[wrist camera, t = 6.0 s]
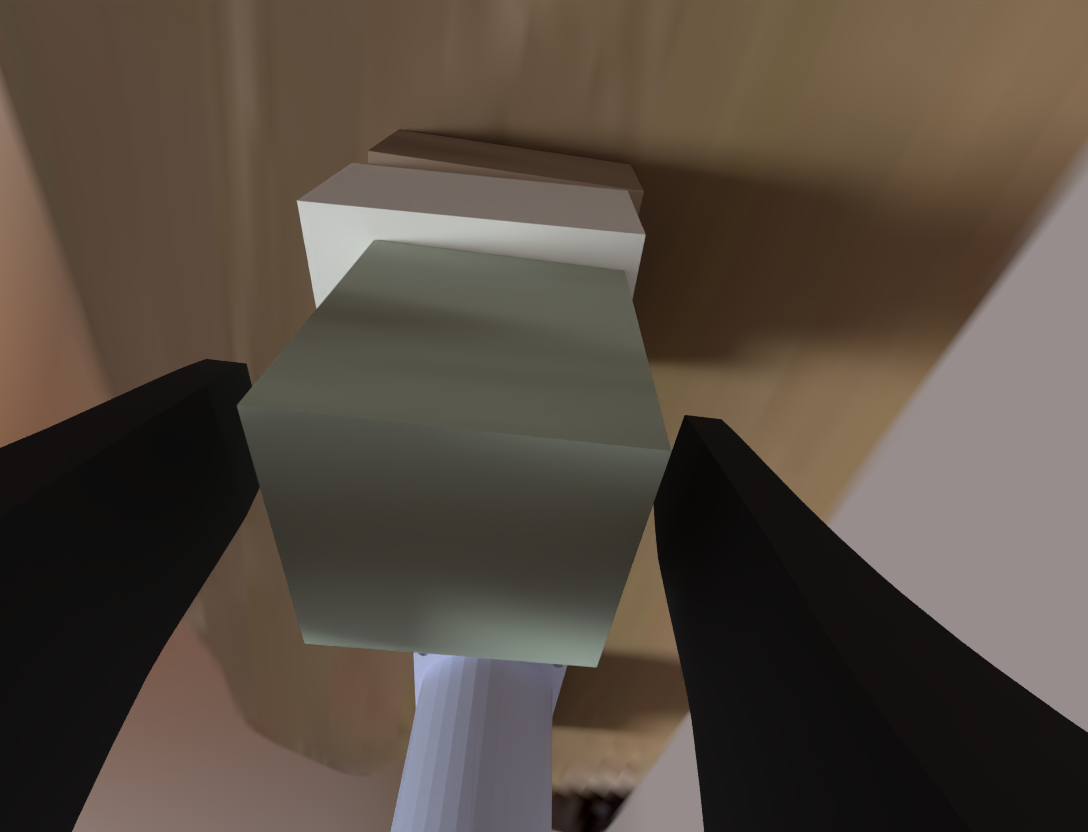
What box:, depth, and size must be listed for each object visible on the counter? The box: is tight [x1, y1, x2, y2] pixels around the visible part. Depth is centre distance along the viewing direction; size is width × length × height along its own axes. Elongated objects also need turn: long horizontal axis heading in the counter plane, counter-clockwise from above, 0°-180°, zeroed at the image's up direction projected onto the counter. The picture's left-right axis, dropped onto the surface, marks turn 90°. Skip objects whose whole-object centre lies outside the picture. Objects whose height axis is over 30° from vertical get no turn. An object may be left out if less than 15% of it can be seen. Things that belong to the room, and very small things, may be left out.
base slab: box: [368, 130, 644, 216], centre depth 14 cm, size 6×6×3 cm
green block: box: [237, 240, 671, 667], centre depth 9 cm, size 4×4×5 cm
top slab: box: [297, 163, 646, 308], centre depth 12 cm, size 6×6×3 cm
